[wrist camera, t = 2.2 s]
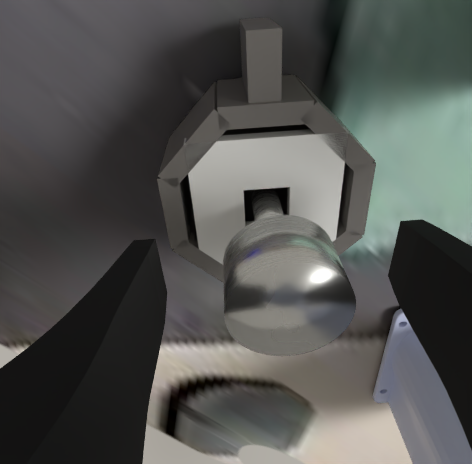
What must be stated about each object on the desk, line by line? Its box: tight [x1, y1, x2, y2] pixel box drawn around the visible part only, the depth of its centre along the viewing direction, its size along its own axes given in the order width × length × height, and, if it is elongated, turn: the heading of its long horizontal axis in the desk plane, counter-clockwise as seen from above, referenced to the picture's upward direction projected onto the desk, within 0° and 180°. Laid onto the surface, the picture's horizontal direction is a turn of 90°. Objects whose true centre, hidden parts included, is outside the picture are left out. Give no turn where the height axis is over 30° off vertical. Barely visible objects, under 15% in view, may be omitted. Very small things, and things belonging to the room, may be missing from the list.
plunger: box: [223, 188, 356, 356], centre depth 11 cm, size 3×3×6 cm
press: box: [157, 17, 376, 283], centre depth 14 cm, size 9×7×4 cm
